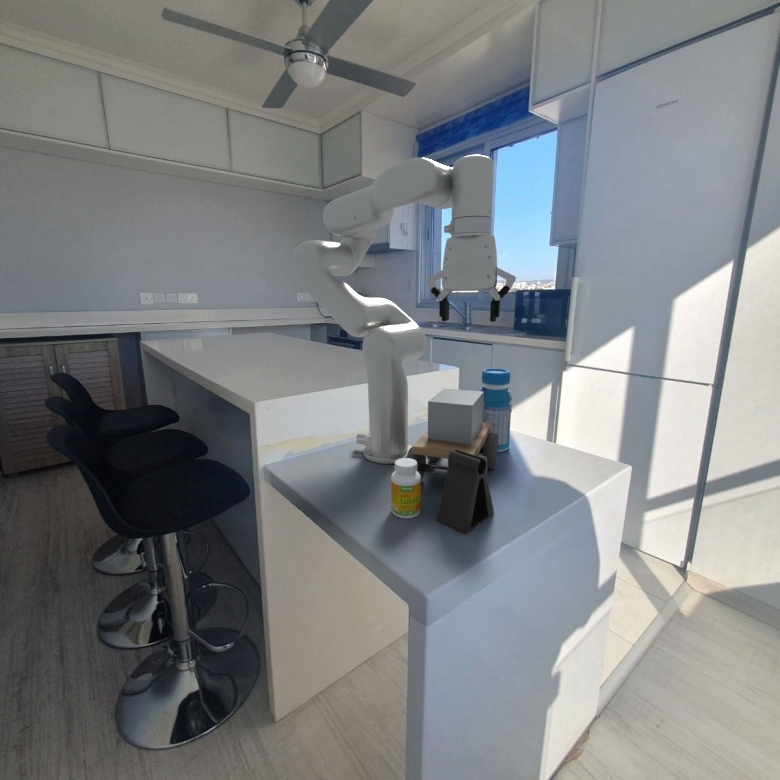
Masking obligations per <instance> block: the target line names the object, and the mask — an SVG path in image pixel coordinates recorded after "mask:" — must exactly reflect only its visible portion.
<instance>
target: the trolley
mask: <svg viewBox="0 0 780 780" xmlns="http://www.w3.org/2000/svg"><path fill="white" fill-rule="evenodd" d="M483 404H484V392H483V391H481V390H470V389H469V390H467V389H455V388H454V389H453V388H442V390H440V391H439V392H438V393H437V394H436V395H434V396H433V397H432V398H430V399H429V400H428V401H427V431H426V432H425V433H424V435H422V436H421V437H420V438H419V439H418V440H417V441H416V442H415V443H414V444H413V445H411V446H412V447H411V448H410V449H409V451H408V453H407V456H406V458H411V459H414V460H416V461H417V472H419V474H420V475H421V483H422V482H423V480H424V476H425V473H430V474H435V475H441V476H446V475H447V471H448V466H440V465H436V464H434V465H433V464H429V463H428V464H427V460H428V461H433V462H438V461H440V459H445V460H446V459H447V460H448V456H449V454H450V452H451V451H454V452H456V451H455V449H456V450H459V451H462V452H465V453H468V454H472V455H475V456H478V457H481V458H484V459H486V461H487V467H486V475H488V470H495V468H496V464H497V459H498V453H499V452H498V435H497V434H495V433H490V431H491V428H492V423H486V422H483ZM483 444H484V446H483ZM479 454H482V455H479Z"/></svg>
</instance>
